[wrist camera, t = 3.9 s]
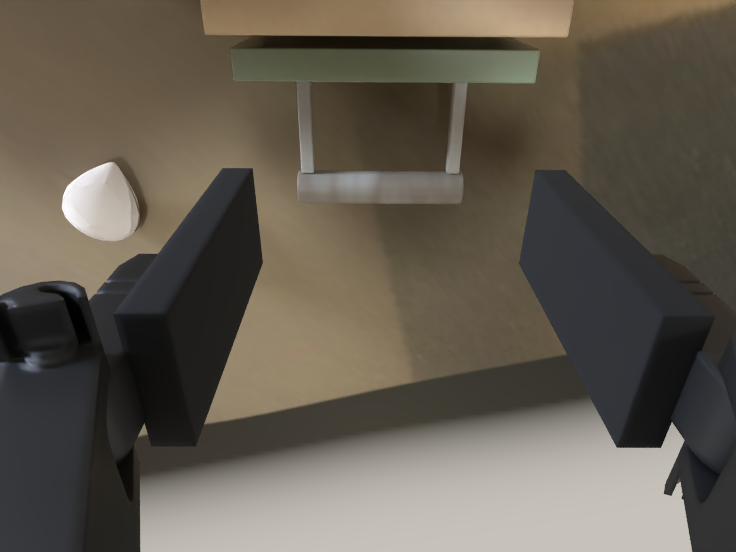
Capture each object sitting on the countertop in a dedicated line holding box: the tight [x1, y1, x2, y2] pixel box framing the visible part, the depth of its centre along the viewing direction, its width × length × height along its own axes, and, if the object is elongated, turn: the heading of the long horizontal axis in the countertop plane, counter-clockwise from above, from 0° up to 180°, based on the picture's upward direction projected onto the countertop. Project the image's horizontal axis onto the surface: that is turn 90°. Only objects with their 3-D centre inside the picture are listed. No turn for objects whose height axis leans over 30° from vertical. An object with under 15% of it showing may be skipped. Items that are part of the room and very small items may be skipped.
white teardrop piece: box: [62, 162, 140, 241], centre depth 30 cm, size 4×5×2 cm
